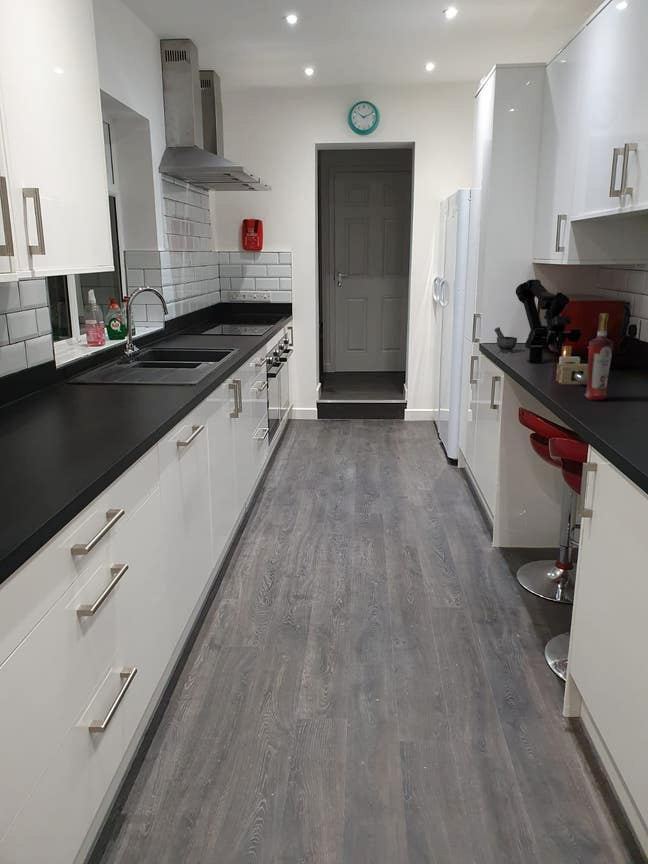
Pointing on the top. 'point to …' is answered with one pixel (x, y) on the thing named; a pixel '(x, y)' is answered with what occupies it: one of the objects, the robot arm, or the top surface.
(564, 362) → the spacer
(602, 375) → the liquor
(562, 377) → the bearing block
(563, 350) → the shaft
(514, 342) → the mortar and pestle
